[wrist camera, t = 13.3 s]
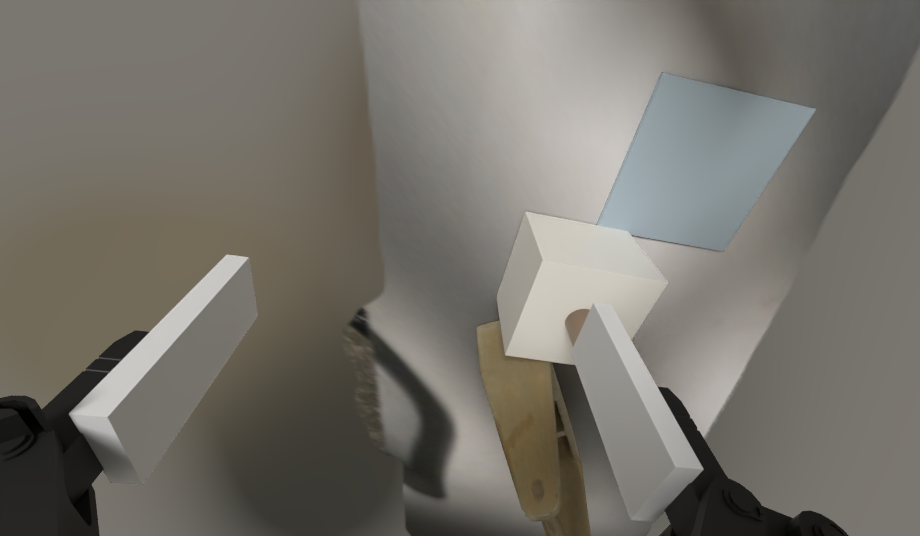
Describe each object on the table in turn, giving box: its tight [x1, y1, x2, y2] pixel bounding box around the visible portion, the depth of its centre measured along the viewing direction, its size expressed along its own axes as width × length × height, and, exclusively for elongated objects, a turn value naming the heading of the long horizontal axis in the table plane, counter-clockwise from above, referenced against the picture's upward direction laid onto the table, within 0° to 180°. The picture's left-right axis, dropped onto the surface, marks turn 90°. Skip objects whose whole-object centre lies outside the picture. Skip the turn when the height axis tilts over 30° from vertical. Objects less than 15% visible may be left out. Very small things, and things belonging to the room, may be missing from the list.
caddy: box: [477, 320, 591, 536], centre depth 57 cm, size 29×11×30 cm, turn 19°
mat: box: [596, 73, 816, 251], centre depth 49 cm, size 20×20×1 cm
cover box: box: [496, 211, 669, 365], centre depth 48 cm, size 15×15×22 cm
